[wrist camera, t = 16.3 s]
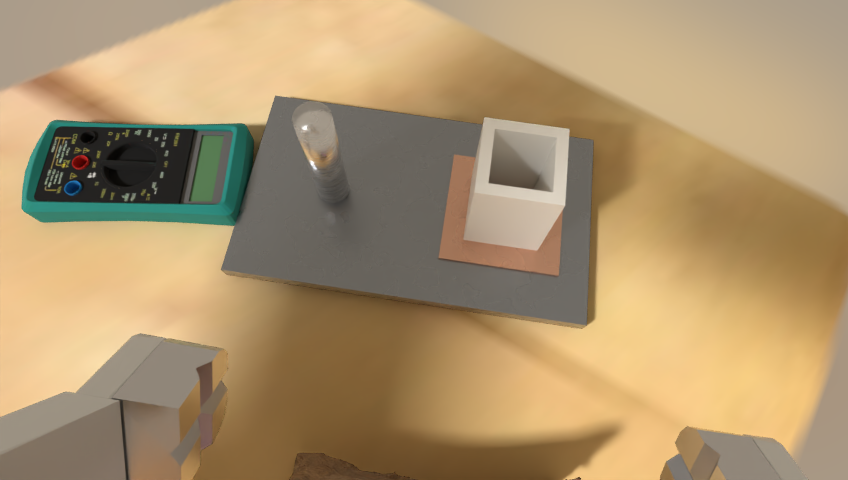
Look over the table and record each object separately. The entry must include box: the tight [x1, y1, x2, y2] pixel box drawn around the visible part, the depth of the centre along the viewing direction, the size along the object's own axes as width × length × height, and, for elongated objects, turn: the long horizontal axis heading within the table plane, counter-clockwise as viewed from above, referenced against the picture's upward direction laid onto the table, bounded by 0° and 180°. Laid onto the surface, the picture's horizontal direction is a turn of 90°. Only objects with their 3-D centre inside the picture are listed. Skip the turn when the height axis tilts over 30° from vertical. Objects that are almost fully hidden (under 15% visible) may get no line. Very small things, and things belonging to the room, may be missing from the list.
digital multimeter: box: [22, 120, 254, 226], centre depth 37 cm, size 7×15×3 cm, turn 89°
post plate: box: [221, 96, 593, 329], centre depth 33 cm, size 24×14×10 cm, turn 81°
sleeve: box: [463, 117, 570, 251], centre depth 33 cm, size 5×5×7 cm
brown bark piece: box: [289, 453, 581, 480], centre depth 29 cm, size 15×2×5 cm, turn 89°
